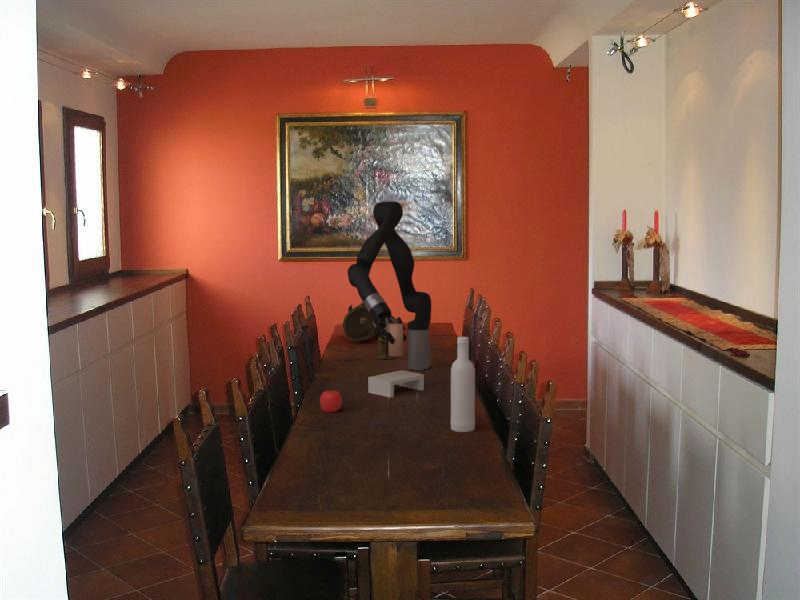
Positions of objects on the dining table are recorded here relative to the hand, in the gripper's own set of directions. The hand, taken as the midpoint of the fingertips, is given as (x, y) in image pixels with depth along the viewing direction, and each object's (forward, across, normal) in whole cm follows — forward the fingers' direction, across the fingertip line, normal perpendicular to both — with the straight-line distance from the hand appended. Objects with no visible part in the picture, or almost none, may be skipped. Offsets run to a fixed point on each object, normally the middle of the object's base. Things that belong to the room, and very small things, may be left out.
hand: (399, 341), depth 338 cm
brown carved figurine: (-23, +42, +50) cm, 69 cm away
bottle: (+51, -23, -23) cm, 60 cm away
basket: (-54, +73, +82) cm, 123 cm away
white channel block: (+13, 0, +15) cm, 20 cm away
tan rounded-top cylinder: (+3, 0, +5) cm, 6 cm away
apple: (+16, -37, +12) cm, 42 cm away
